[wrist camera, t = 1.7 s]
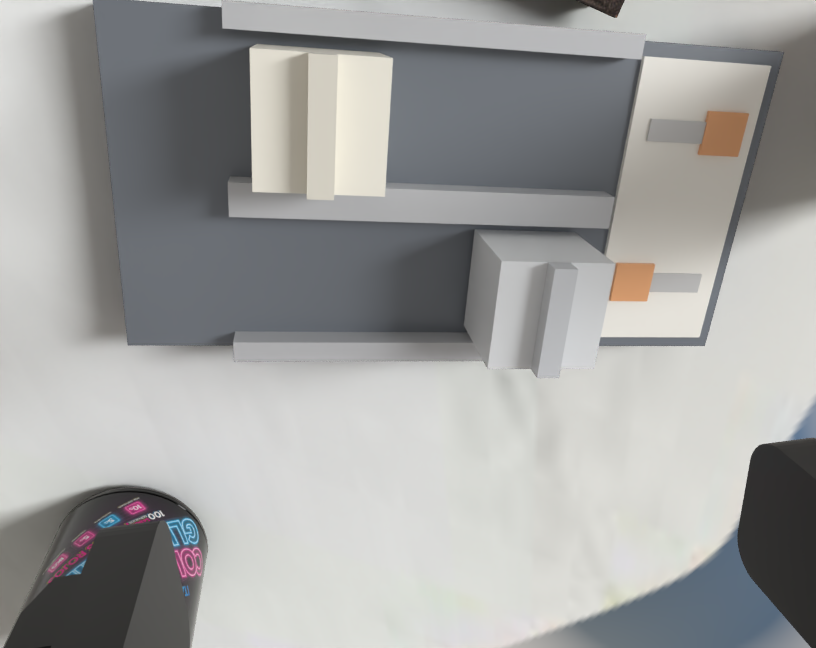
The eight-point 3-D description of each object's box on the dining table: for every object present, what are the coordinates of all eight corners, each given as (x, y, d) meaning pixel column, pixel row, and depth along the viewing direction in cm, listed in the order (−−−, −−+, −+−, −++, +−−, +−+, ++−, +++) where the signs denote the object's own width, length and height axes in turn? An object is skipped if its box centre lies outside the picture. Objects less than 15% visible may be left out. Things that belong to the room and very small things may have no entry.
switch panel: (107, -8, 23) (82, -12, 20) (752, 44, 27) (804, 47, 24) (139, 328, 28) (122, 361, 25) (680, 331, 32) (716, 360, 29)
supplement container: (240, 543, 33) (217, 752, 24) (132, 614, 34) (68, 843, 24) (141, 452, 30) (71, 648, 21) (26, 532, 31) (-93, 755, 22)
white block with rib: (474, 229, 26) (507, 268, 22) (574, 232, 27) (624, 270, 23) (463, 325, 28) (492, 378, 23) (558, 326, 28) (601, 377, 24)
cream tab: (256, 43, 22) (247, 49, 18) (378, 52, 23) (396, 59, 19) (258, 166, 24) (251, 197, 20) (372, 171, 24) (387, 202, 20)
